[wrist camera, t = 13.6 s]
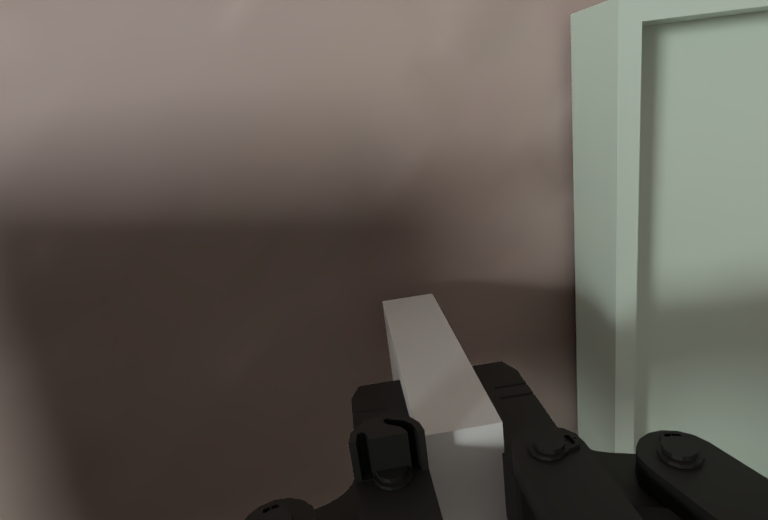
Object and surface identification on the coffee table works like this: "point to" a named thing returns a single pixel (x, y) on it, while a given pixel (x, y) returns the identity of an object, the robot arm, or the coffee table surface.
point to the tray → (672, 222)
